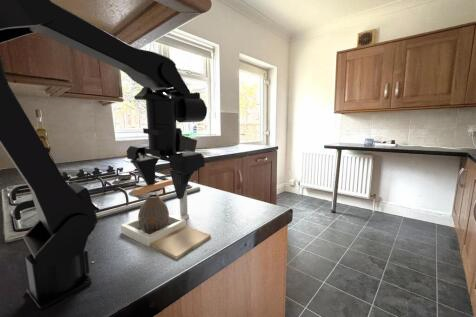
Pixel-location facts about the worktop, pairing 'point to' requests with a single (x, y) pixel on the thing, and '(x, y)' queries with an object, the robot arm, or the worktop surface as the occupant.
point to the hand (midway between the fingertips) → (165, 193)
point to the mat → (180, 241)
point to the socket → (146, 239)
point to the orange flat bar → (152, 187)
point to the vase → (153, 214)
